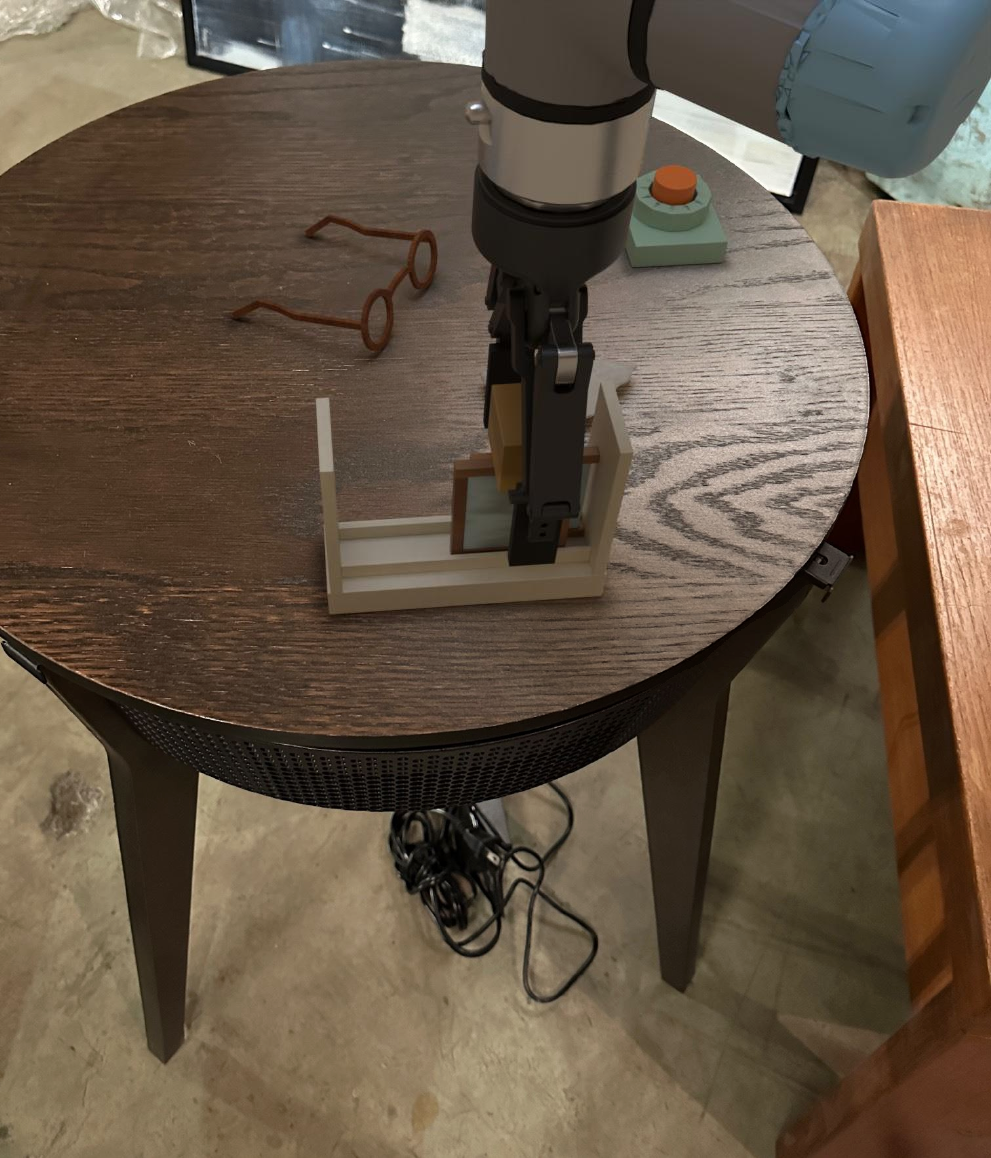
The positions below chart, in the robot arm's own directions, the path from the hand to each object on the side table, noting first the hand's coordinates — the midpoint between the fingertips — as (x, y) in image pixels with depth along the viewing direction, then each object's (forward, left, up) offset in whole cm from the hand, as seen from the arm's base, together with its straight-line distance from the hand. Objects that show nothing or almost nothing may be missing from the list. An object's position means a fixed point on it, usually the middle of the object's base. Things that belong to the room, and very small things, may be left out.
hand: (517, 488), depth 68 cm
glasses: (+10, -31, -9) cm, 34 cm away
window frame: (+3, -1, -9) cm, 9 cm away
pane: (0, 0, -6) cm, 6 cm away
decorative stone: (-7, -17, -9) cm, 20 cm away
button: (-20, -37, -5) cm, 42 cm away
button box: (-19, -37, -9) cm, 43 cm away
